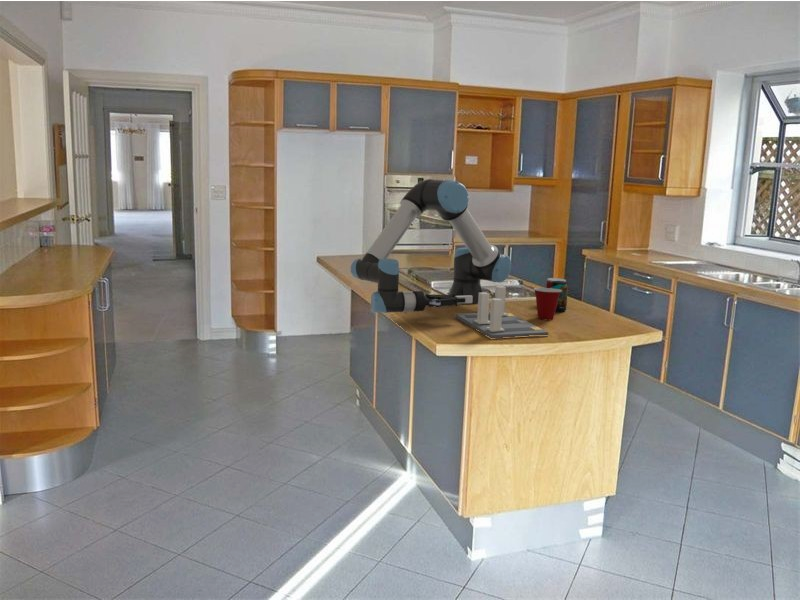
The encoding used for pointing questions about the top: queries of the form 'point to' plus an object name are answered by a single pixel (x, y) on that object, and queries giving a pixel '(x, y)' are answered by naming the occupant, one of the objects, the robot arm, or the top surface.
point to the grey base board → (503, 326)
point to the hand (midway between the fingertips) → (471, 299)
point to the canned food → (550, 280)
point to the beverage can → (561, 295)
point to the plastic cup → (546, 302)
